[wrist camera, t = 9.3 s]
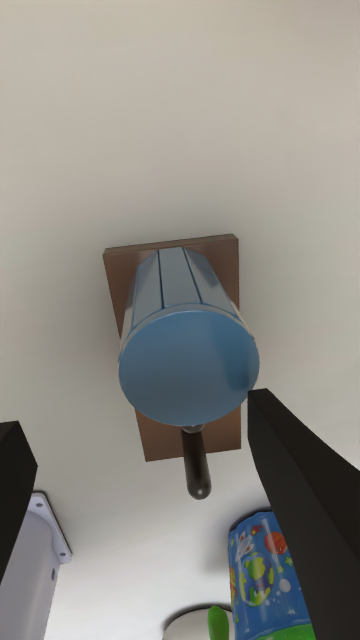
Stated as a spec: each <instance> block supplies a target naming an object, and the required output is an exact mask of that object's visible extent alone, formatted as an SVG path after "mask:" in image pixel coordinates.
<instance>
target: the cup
mask: <svg viewBox="0 0 360 640" xmlns="http://www.w3.org/2000/svg"><path fill="white" fill-rule="evenodd" d="M118 363H119V381H120V385H121V388H122V390H123V392H124V394H125V396H126V398H127V399H128V401H129V402H130V403H131V404H132V405H133V406H134V408H135V409H137V410H138V411H139V412H140V413H142V414H143V415H145V416H147V417H148V418H150V419H153V420H155V421H158V422H161V423H164V424H169V425H175V426H193V425H200V424H205V423H208V422H212V421H214V420H217V419H219V418H221V417H223V416H225V415H227V414H229V413H230V412H232V411H233V410H234V409H236V408H237V407H238V406H239V405H240V404H241V403H242V402H243V401H244V400H245V399H246V398H247V397H248V391H249V390H252V389H253V387H254V385H255V383H256V380H257V377H258V373H259V364H260V363H259V354H258V349H257V347H256V343H255V341H254V337H253V336H252V334H251V332H250V330H249V329H248V327H247V325H246V323H245V321H244V320H243V318H242V316H241V314H240V313H239V311H238V309H237V307H236V306H235V304H234V302H233V300H232V299H231V297H230V295H229V293H228V291H227V290H226V288H225V286H224V284H223V283H222V281H221V279H220V277H219V276H218V274H217V272H216V271H215V269H214V268H213V267H212V265H211V264H210V262H209V261H208V259H207V258H206V257H204V255H201V254H199V253H197V252H194V251H192V250H190V249H187V248H185V247H184V248H183V249H182V247H174V248H166V249H159V252H158V251H155V252H154V253H152V254H151V255H150V256H148V257H147V258H146V259H144V260H143V261H141V262H140V263H139V265H138V266H137V267H136V270H135V272H134V275H133V277H132V280H131V282H130V285H129V292H128V298H127V304H126V311H125V317H124V324H123V330H122V336H121V343H120V349H119V356H118Z"/></svg>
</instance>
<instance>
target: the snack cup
mask: <svg viewBox="0 0 360 640" xmlns="http://www.w3.org/2000/svg"><path fill="white" fill-rule="evenodd" d="M228 556H229V574H230V590H231V606H232V614H233V623H234V628H235V640H316V638H315V634H314V631H313V628H312V624H311V621H310V618H309V614H308V611H307V607H306V604H305V601H304V597H303V594H302V591H301V588H300V584H299V581H298V578H297V575H296V571H295V568H294V565H293V562H292V559H291V556H290V553H289V550H288V548H287V545H286V542H285V540H284V537H283V535H282V532H281V530H280V527H279V525H278V522H277V520H276V517H275V515H274V512H273V511H272V512H257V513H256V514H255V515H254V516H252V517H249V518H247V519H245V520H244V521H242V522H241V523H240V524H239V525H238V526H237V527H236V529H235V530H233V531H231V532H230V533H229V545H228ZM207 623H208V631H209V636H210V640H229V620H228V617H227V613H226V612H225V611H224V610H223V609H221V608H219V607H217V606H212V607H211V608H210V609H209V611H208V622H207Z"/></svg>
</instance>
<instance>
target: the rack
mask: <svg viewBox="0 0 360 640" xmlns="http://www.w3.org/2000/svg"><path fill="white" fill-rule="evenodd" d="M174 247H182V249H183V248H184V247H185V248H187V249H190V250H192V251H194V252H197V253H199V254H201V255H204V257H206V258H207V259H208V261H209V262H210V264H211V265H212V267H213V268H214V269H215V271H216V272H217V274H218V276H219V277H220V279H221V281H222V283H223V284H224V286H225V288H226V290H227V291H228V293H229V295H230V297H231V299H232V300H233V302H234V304H235V306H236V307H237V309H238V311H239V253H238V238H237V237H236V236H234V235H233V234H228V235H219V236H211V237H202V238H194V239H185V240H176V241H168V242H159V243H151V244H142V245H133V246H125V247H116V248H108V249H105V251H104V253H103V260H104V265H105V269H106V274H107V279H108V284H109V289H110V293H111V298H112V303H113V308H114V312H115V317H116V322H117V327H118V331H119V336H120V341H121V336H122V330H123V324H124V317H125V311H126V304H127V298H128V292H129V285H130V282H131V280H132V277H133V275H134V272H135V270H136V267H137V266H138V265H139V263H140V262H141V261H143V260H144V259H146V258H147V257H148V256H150V255H151V254H152V253H154V252H155V251H158V252H159V249H166V248H174ZM135 412H136V417H137V422H138V426H139V431H140V436H141V441H142V445H143V450H144V455H145V460H146V462H148V461H156V460H163V459H170V458H178V457H184V463H185V472H186V481H187V489H188V492H189V494H190V495H191V496H192V497H193V498H195V499H198V500H201V499H205V498H206V497H207V496H208V495H209V494H210V492H211V480H210V475H209V469H208V464H207V459H206V454H207V453H215V452H222V451H229V450H237V449H241V405H239V406H238V407H237V408H236V409H234V410H233V411H232V412H230V413H229V414H227V415H225V416H223V417H221V418H219V419H217V420H214V421H212V422H208V423H205V424H200V425H193V426H175V425H169V424H164V423H161V422H158V421H155V420H153V419H150V418H148V417H147V416H145V415H143V414H142V413H140V412H139V411H138V410H137V409H135Z"/></svg>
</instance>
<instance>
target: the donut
mask: <svg viewBox="0 0 360 640" xmlns="http://www.w3.org/2000/svg"><path fill="white" fill-rule="evenodd" d="M208 611H209V609H200V610H196V611H192V612H189V613H186V614H184V615H182V616H180V617H178V618H177V619H176V620H174V621H173V622H172V623H171V624H170V625H169V626H168V628H167V630H166V631H165V633H164V635H163V639H162V640H210V636H209V631H208V623H207V622H208ZM224 611H225V612H226V613H227V617H228V620H229V640H235V628H234V623H233V614H232V612H229V611H226V610H224Z"/></svg>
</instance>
